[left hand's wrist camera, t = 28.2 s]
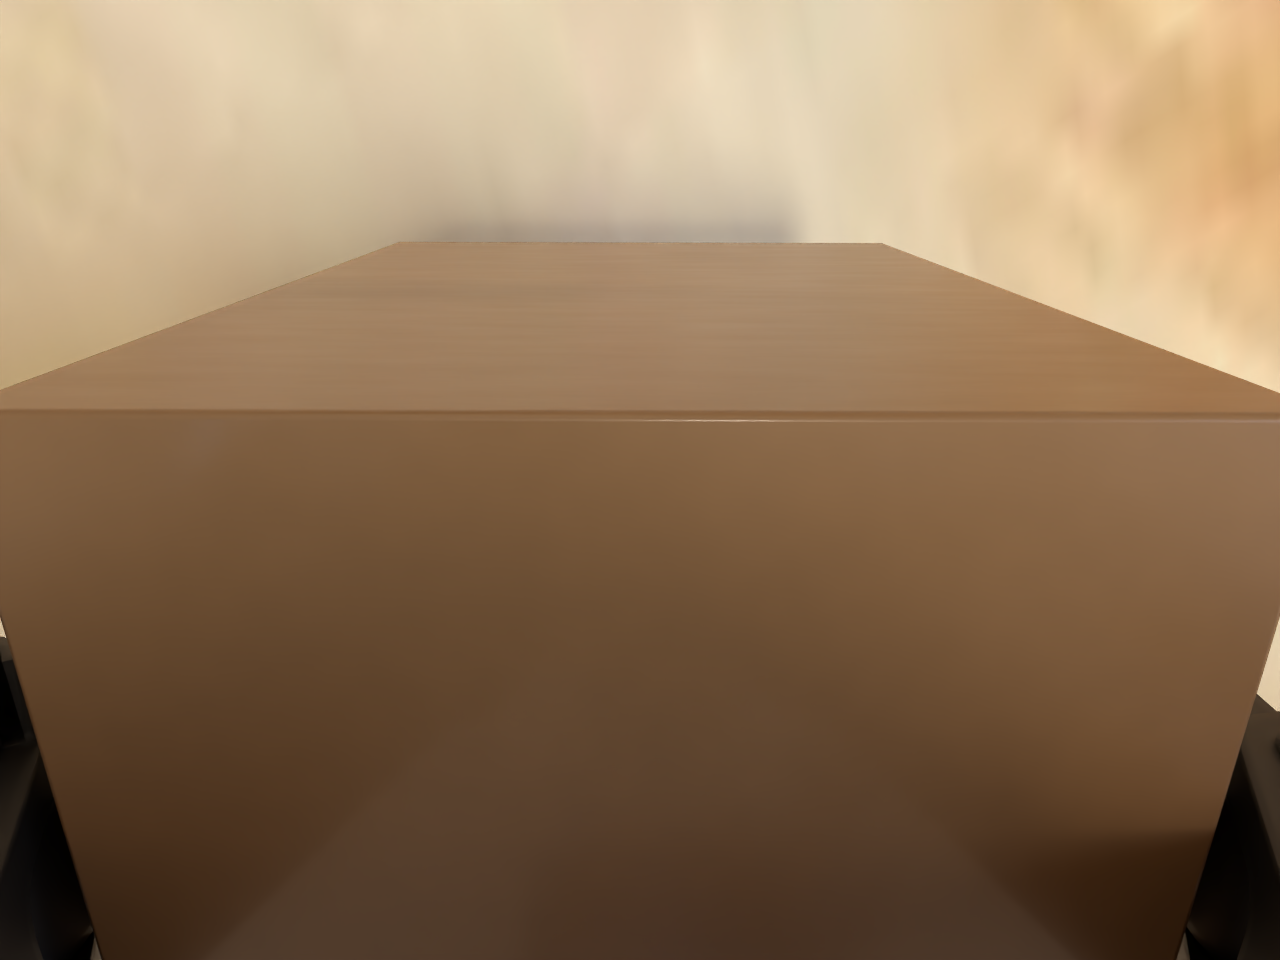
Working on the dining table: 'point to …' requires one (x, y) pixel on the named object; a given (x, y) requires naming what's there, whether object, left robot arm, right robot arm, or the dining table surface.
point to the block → (639, 613)
